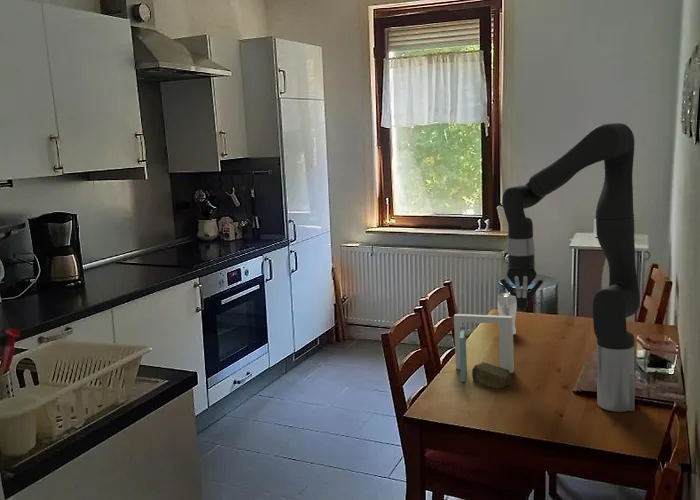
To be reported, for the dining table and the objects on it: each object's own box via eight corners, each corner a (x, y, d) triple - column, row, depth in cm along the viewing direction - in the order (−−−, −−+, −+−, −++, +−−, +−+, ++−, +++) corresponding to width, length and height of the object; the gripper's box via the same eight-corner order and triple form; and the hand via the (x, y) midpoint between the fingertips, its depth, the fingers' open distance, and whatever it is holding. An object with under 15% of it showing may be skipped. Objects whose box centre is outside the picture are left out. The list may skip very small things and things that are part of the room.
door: (465, 381, 197) (463, 337, 195) (460, 381, 198) (459, 337, 196) (466, 368, 209) (465, 327, 206) (462, 368, 209) (460, 327, 207)
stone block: (484, 375, 203) (483, 360, 202) (512, 385, 193) (511, 369, 193) (471, 380, 200) (470, 365, 199) (499, 390, 190) (498, 374, 189)
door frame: (513, 370, 205) (512, 316, 202) (512, 372, 203) (511, 317, 200) (457, 366, 212) (455, 313, 209) (455, 368, 210) (453, 315, 207)
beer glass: (519, 335, 241) (518, 296, 238) (500, 336, 241) (499, 297, 238) (514, 329, 248) (513, 292, 245) (496, 331, 248) (495, 293, 245)
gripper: (496, 254, 189) (498, 311, 192) (543, 254, 184) (544, 313, 187) (500, 250, 196) (502, 305, 199) (545, 250, 191) (546, 306, 194)
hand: (522, 309), depth 193 cm, fingers closed
